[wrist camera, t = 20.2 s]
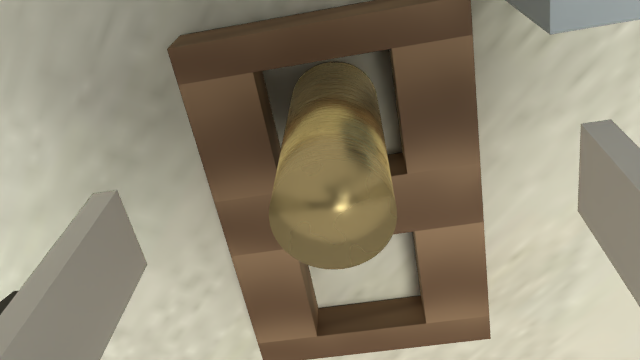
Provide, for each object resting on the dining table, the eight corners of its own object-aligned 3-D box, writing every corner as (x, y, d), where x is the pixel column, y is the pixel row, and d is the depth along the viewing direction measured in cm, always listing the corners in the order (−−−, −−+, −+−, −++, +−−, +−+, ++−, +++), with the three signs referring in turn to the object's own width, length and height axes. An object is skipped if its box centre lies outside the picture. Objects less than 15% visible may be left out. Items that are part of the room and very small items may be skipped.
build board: (180, 35, 23) (167, 48, 21) (459, -15, 22) (470, -5, 20) (268, 335, 30) (264, 364, 29) (481, 310, 29) (490, 338, 27)
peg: (283, 69, 24) (255, 170, 16) (371, 54, 23) (388, 150, 15) (300, 148, 25) (283, 276, 17) (382, 136, 25) (403, 260, 17)
